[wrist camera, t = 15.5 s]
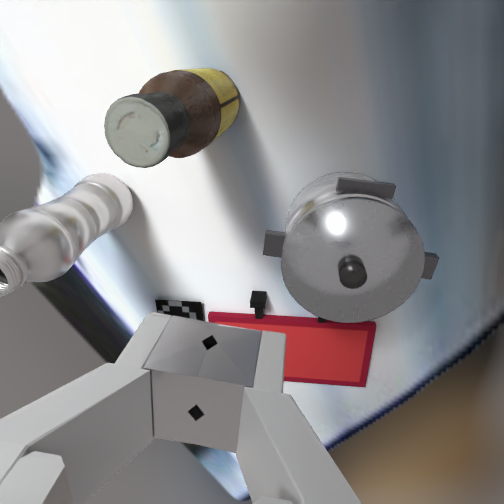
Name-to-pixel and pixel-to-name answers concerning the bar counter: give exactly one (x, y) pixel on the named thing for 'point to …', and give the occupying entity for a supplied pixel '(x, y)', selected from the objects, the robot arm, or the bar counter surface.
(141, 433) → the robot arm
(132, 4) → the bar counter surface
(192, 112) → the sauce bottle
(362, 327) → the red board with handle
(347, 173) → the pot
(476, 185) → the bar counter surface
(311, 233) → the lid
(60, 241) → the plastic bottle
